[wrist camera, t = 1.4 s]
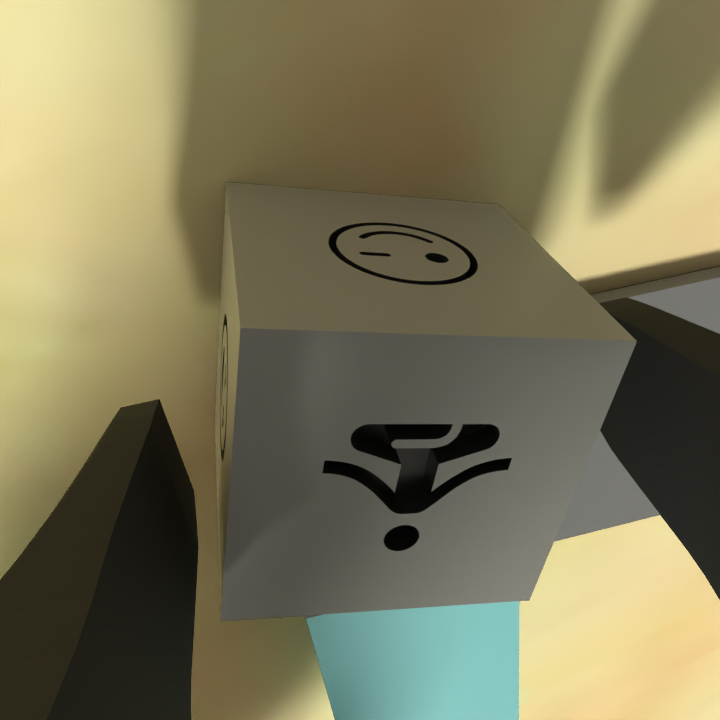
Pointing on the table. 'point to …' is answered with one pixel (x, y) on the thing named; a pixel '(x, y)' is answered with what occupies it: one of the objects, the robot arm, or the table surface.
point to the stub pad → (603, 469)
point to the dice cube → (396, 402)
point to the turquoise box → (421, 662)
